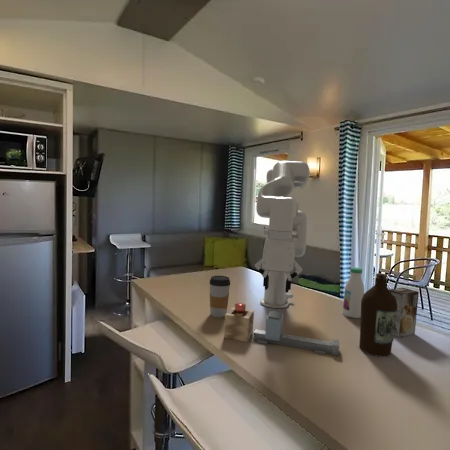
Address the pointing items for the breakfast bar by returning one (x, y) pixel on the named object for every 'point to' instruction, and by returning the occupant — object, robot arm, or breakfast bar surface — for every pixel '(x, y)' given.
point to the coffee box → (405, 311)
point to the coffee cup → (219, 295)
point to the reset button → (240, 308)
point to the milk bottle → (353, 294)
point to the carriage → (274, 325)
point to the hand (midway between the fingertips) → (276, 289)
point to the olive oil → (378, 318)
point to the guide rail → (301, 342)
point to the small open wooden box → (238, 325)
